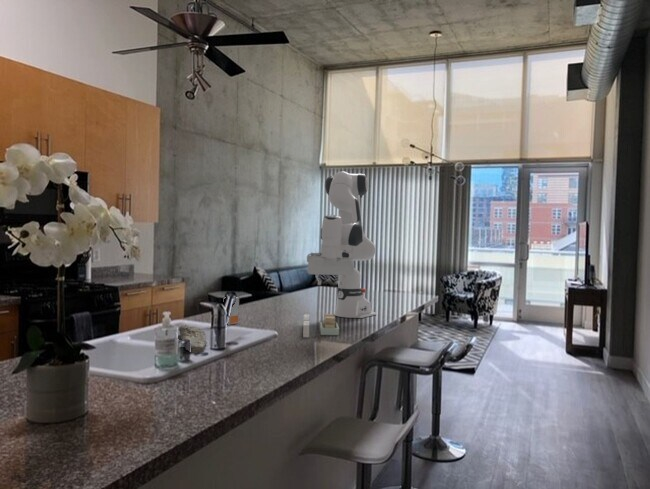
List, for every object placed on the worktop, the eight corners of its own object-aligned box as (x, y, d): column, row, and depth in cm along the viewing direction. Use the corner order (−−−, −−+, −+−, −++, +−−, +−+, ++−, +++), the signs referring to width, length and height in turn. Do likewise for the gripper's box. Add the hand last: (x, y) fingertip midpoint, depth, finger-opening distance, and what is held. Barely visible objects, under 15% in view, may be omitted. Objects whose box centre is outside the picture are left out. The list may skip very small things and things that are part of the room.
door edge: (303, 324, 237) (304, 313, 237) (309, 325, 237) (309, 313, 237) (303, 337, 211) (303, 324, 211) (309, 337, 211) (309, 324, 211)
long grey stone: (180, 358, 180) (209, 358, 183) (181, 343, 179) (210, 343, 182) (177, 332, 213) (202, 332, 216) (178, 319, 212) (203, 320, 215)
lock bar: (334, 332, 218) (334, 318, 218) (325, 332, 218) (325, 317, 218) (333, 327, 228) (333, 314, 228) (324, 327, 228) (324, 313, 228)
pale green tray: (320, 328, 230) (320, 322, 230) (337, 328, 230) (337, 322, 230) (320, 334, 216) (320, 328, 216) (338, 335, 217) (339, 328, 217)
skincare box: (228, 325, 232) (229, 298, 232) (222, 323, 235) (223, 297, 234) (238, 323, 237) (239, 297, 236) (232, 322, 239) (233, 296, 239)
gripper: (306, 253, 219) (306, 285, 219) (355, 254, 219) (354, 286, 220) (307, 252, 225) (306, 283, 226) (354, 253, 225) (353, 284, 226)
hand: (330, 285), depth 223 cm, fingers open, 8 cm apart
